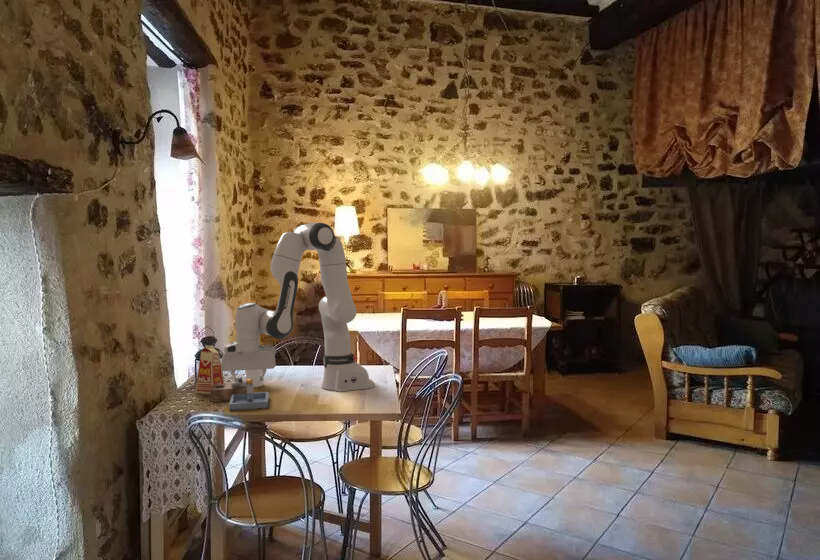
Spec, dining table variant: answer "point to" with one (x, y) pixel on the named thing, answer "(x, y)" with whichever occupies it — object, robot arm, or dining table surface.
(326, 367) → the robot arm
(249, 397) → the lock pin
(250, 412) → the dining table surface
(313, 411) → the dining table surface
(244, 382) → the tensioner block
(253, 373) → the foam cup
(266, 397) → the dish
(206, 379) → the milk carton
